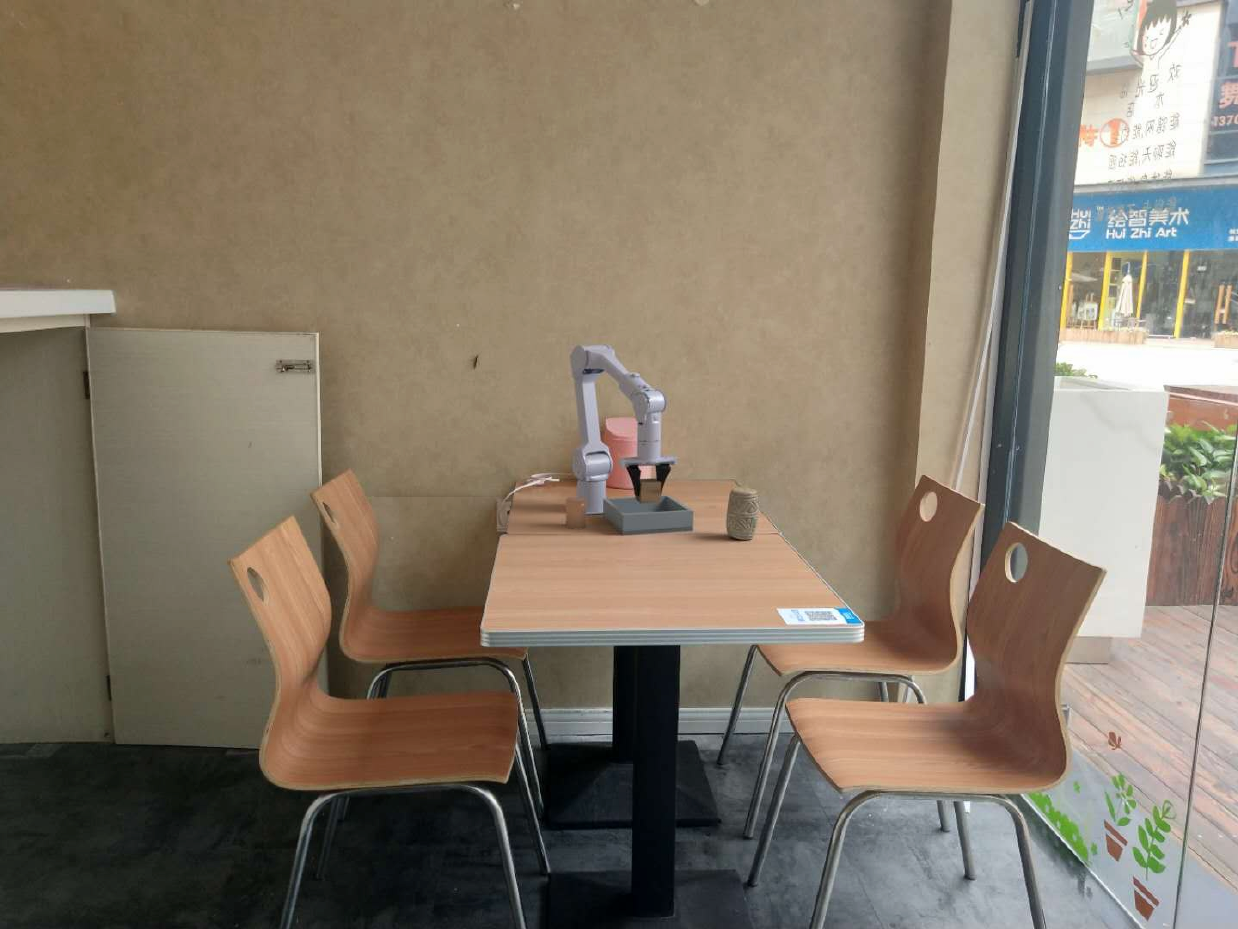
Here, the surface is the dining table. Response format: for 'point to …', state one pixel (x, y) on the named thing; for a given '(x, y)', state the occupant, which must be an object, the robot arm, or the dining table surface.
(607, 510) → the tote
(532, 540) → the dining table surface
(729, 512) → the carving
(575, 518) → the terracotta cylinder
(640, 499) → the walnut cube
